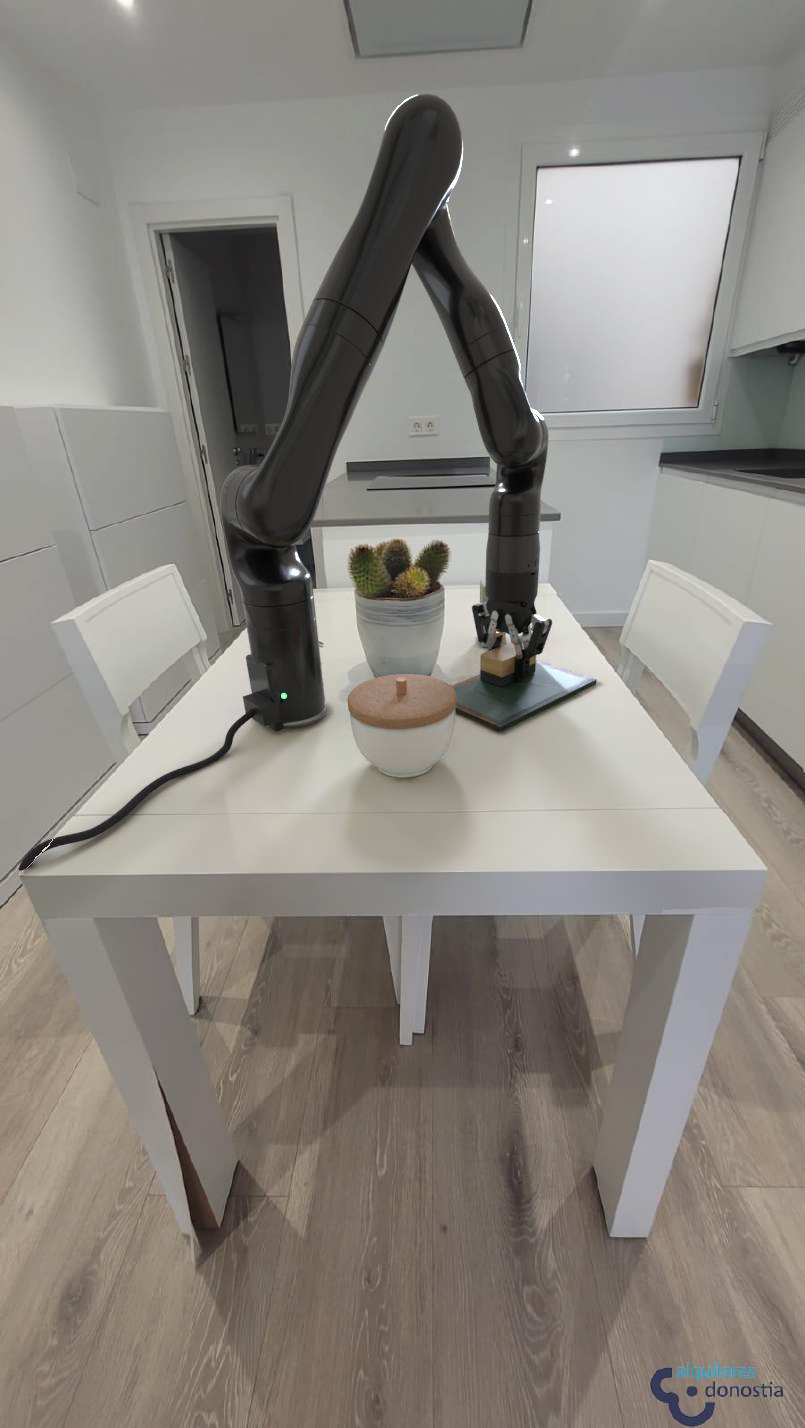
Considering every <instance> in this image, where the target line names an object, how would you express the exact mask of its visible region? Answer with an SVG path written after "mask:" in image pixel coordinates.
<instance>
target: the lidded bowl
mask: <svg viewBox="0 0 805 1428" xmlns="http://www.w3.org/2000/svg"><path fill="white" fill-rule="evenodd" d="M452 686H453V685H451V684H449V683H448V682H446V681H445V680H442V679H440V678H438V677H434V676H430V675H425V674H417V673H397V674H388V675H382V676H378V677H377V676H376V677H375V678H371V679H368V680H365V681H364V682H361V683H360V684H358V685H357V686H355V687H353V688H352V690H351V691H350V692H349V694H348V696H347V700H346V701H347V708H348V712H349V719H350V726H351V731H352V735H353V739H354V741H355V744H356V746H357V748H358V750H359V752H360V753H361V755H362V756H363V757H364V758H365V760H366V761H367V762H369V763H370V764H371V765H373V766H374V767H376V769H377V771H379V772H380V773H381V774H383V775H385V776H388V777H392V778H396V779H409V778H414V777H419V776H422V775H425V774H426V773H428V772H429V771H430V770H431V769H432V768H433V767H434V765H436V763H438V762H439V761H440V760H441V759H442V758H443V757H444V755H445V754H446V753H447V751H448V749H449V746H450V745H451V743H452V739H453V736H454V731H455V726H456V725H455V724H456V712H455V708H456V704H457V695H456V692H455V690H454V689H453V687H452Z"/></svg>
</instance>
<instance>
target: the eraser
mask: <svg viewBox="0 0 805 1428" xmlns="http://www.w3.org/2000/svg"><path fill="white" fill-rule="evenodd" d="M522 645H523V642H522ZM523 649H524V647H523ZM515 658H516V653H515V647H514V644H512V643H511V642H508V643H505V645H503V646H500V647H498V648H495V649H492V650H490V651H488V650H487V651H485V652H482V653H480V660H479V661H480V665H479V668H480V671H479V675H480V679H481V680H484V681H487V682H489V683H492V684H495V685H497V686H500V687H503V686H505V685H508V684H510V683H512V682H514V681H517V680H515V679H514V671H515ZM536 660H537V655H536V656H533V657H531V658H530V665H529V674H528V675H530V674H532V673H535V667H536Z"/></svg>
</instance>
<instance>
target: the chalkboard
mask: <svg viewBox="0 0 805 1428" xmlns="http://www.w3.org/2000/svg"><path fill="white" fill-rule="evenodd" d="M597 681H598V679H597V678H594V677H590V676H587V675H584V674H581V673H577V672H576V671H572V670H569V669H565V668H562V667H559V666H556V665H553V664H550V663H547V662H543V661H541V660H537V659H536V667H535V673H532V674H530V675H528V676H526V678H525V679H523V680H521V681H514V682H512V683H510V684H508V685H505V686H503V687H500V686H497V685H495V684H492V683H489V682H487V681H484V680H481V679H480V674H477V675H476V676H473V677H470V678H468V679H465V680H463V681H460V682H458V683H455V684H452V685H451V686H452V687H453V689H454V690H455V692H456V695H457V704H456V708H455V714H459V715H460V716H463V717H465V718H467V719H469V720H472V721H474V722H476V723H479V724H481V725H483V726H485V727H488V728H489V729H492V730H495V731H496V732H499V733H501V732H503V731H506V730H507V729H509V728H511V727H513V726H515V725H517V724H520V723H521V722H523V721H525V720H527V719H529V718H531V717H534V716H536V715H537V714H539V713H542V712H543V711H545V710H547V709H549V708H551V707H553V706H555V705H557V704H559V703H561V702H564V701H565V700H567V699H569V698H571V697H573V696H575V695H577V694H579V693H582V692H583V691H585V690H587V689H589V688H591V687H593V686H595V685H597Z"/></svg>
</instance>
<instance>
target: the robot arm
mask: <svg viewBox="0 0 805 1428" xmlns="http://www.w3.org/2000/svg"><path fill="white" fill-rule="evenodd" d="M380 141H381V142H380V146H379V150H378V153H377V156H376V160H375V163H374V167H373V169H372V173H371V176H370V179H369V180H368V181H369V182H368V185H367V188H366V191H365V193H364V196H363V199H362V201H361V204H360V205H359V207H358V208H359V209H358V211H357V213H356V215H355V217H354V220H353V221H352V224H351V225H350V226H349V228H348V231H347V233H346V235H345V236H344V237H343V240H342V242H341V244H340V246H339V247H338V249H337V251H336V253H335V254H334V257H333V259H332V261H331V263H330V265H329V267H328V268H327V271H326V272H325V275H324V276H323V280H322V281H321V284H320V286H319V288H318V290H317V291H316V293H315V296H314V298H313V300H312V302H311V304H310V306H309V309H308V311H307V314H306V316H305V318H304V321H303V323H302V325H301V328H300V330H299V332H298V335H297V339H296V342H295V344H294V348H293V353H292V358H291V366H290V378H289V391H288V399H287V405H286V409H285V413H284V416H283V419H282V422H281V424H280V427H279V429H278V431H277V433H276V435H275V437H274V440H273V442H272V443H271V446H270V448H269V449H268V452H267V454H266V455H265V457H264V458H263V460H262V462H261V463H259V464H258V463H257V464H255V463H252V464H251V463H250V464H245V465H242V466H239V467H237V468H236V469H234V470H233V471H231V472H230V473H229V474H228V475H227V477H226V478H225V480H224V481H223V485H222V488H221V491H220V497H219V503H220V504H219V507H220V508H219V509H220V516H221V517H220V518H221V522H222V528H223V534H224V537H225V543H226V549H227V553H228V557H229V563H230V567H231V571H232V574H233V577H234V579H235V581H236V583H237V586H238V588H239V592H240V597H241V601H242V606H243V612H244V613H243V614H244V618H245V619H244V620H245V624H246V625H245V626H246V631H247V638H248V643H249V650H250V653H249V654H246V656H245V662H246V667H247V673H248V680H249V686H250V692H251V693H249V694H246V695H243V696H242V701H243V707H244V712H245V713H244V714H243V715H242V716H240V717H239V718H238V719H237V720H236V721H234V723H233V724H232V725H231V726H230V727H229V729H228V730H227V732H226V734H225V739H224V742H223V745H222V747H220V748H219V749H218V750H217V751H216V752H215V753H213V754H212V755H210V756H208V757H207V758H205V759H203V760H200V761H197V762H195V763H192V764H189V765H185V766H182V767H179V768H176V769H174V770H172V771H169V772H167V773H165V774H163V775H161V776H159V777H158V778H156V779H155V780H153V781H151V782H150V783H149V784H148V785H146V786H145V787H143V788H142V789H141V790H139V792H138V793H136V794H135V795H134V796H133V797H132V798H131V799H130V800H129V801H128V802H127V803H126V804H125V805H123V807H122V808H120V809H119V810H118V811H116V812H115V813H114V814H113V815H112V816H110V817H109V818H106V820H104V821H102V822H101V823H99V824H98V825H96V826H93V827H92V828H89V829H86V830H83V831H80V832H79V831H78V832H74V833H70V834H65V835H60V836H56V837H53V838H50V839H47V840H44V841H42V842H40V843H38V844H37V845H36V846H35V847H33V848H32V849H30V851H28V853H26V855H25V856H24V858H22V861H21V862H20V864H19V867H18V871H21V872H22V871H26V870H27V869H29V868H31V866H33V864H34V863H32V862H33V861H34V859H35V857H36V856H38V855H39V854H40V853H41V852H42V850H43V849H44V848H45V847H47V846H48V845H49V843H50V842H51V841H52V839H53V841H52V842H51V843H50V846H49V847H48V848H47V849H46V850H45V851H44V852H42V854H43V853H46V852H47V851H50V850H52V849H55V848H58V847H61V846H65V845H70V844H76V843H80V842H84V841H87V840H90V839H92V838H95V837H97V836H100V835H101V834H103V833H105V832H106V831H108V830H109V829H111V828H113V827H114V826H116V825H117V824H118V823H120V822H121V821H122V820H124V818H126V817H127V816H128V815H129V814H131V812H132V811H134V810H135V809H136V808H137V807H138V806H139V805H140V804H141V802H144V800H145V799H147V797H149V796H150V795H151V794H152V793H153V792H154V791H156V790H157V789H158V788H160V787H162V786H163V785H165V784H166V783H168V782H170V781H172V780H175V779H177V778H180V777H182V776H185V775H188V774H191V773H194V772H196V771H199V770H202V769H203V768H206V767H209V766H210V765H212V764H215V763H216V762H218V761H219V760H221V759H222V758H223V757H225V755H226V754H227V753H228V752H229V751H230V750H231V748H232V745H233V742H234V737H235V735H236V733H237V732H238V730H239V729H240V728H241V727H242V726H244V725H245V724H246V723H247V722H248V721H250V720H251V719H252V720H254V721H255V722H257V723H258V724H260V725H261V726H263V727H264V728H266V727H269V728H270V729H272V731H275V732H280V731H283V730H291V729H293V730H294V729H300V728H304V727H309V726H312V725H313V724H316V723H318V722H319V721H321V720H322V719H324V717H325V716H326V714H327V712H328V708H327V701H326V695H325V689H324V688H325V687H324V678H323V667H322V660H321V659H322V658H321V650H320V641H319V632H318V622H317V612H316V604H315V594H314V586H313V579H312V575H311V573H310V571H309V570H308V569H307V567H306V566H305V565H304V563H303V562H302V560H301V558H300V555H299V553H298V550H297V546H296V545H297V543H299V542H300V541H301V540H302V539H303V538H304V537H305V536H306V535H307V533H308V532H309V530H310V528H311V526H312V525H313V522H314V520H315V517H316V515H317V512H318V509H319V507H320V506H319V505H320V503H321V500H322V496H323V493H324V490H325V487H326V484H327V481H328V478H329V475H330V472H331V469H332V465H333V463H334V460H335V457H336V454H337V451H338V449H339V446H340V444H341V442H342V439H343V437H344V436H345V433H346V431H347V429H348V427H349V424H350V422H351V420H352V417H353V415H354V413H355V410H356V408H357V406H358V404H359V401H360V399H361V397H362V394H363V392H364V390H365V388H366V387H367V384H368V383H369V380H370V378H371V376H372V374H373V372H374V369H375V367H376V365H377V362H378V360H379V358H380V356H381V353H382V352H383V349H384V346H385V344H386V342H387V339H388V337H389V333H390V330H391V328H392V325H393V322H394V320H395V317H396V315H397V312H398V308H399V306H400V302H401V299H402V296H403V293H404V290H405V286H406V284H407V280H408V277H409V276H408V275H409V273H410V270H411V266H412V267H413V269H414V271H415V273H416V275H417V276H418V278H419V280H420V282H421V284H422V286H423V287H424V289H425V292H426V293H427V295H428V297H429V300H430V301H431V303H432V306H433V309H435V312H436V314H437V316H438V318H439V321H440V323H441V325H442V327H443V330H444V332H445V335H446V337H447V340H448V343H449V344H450V347H451V350H452V352H453V355H454V357H455V360H456V362H457V365H458V368H459V370H460V373H461V375H462V377H463V380H464V382H465V385H466V387H467V389H468V392H469V394H470V396H471V402H472V406H473V410H474V415H475V419H476V423H477V426H478V427H477V428H478V430H479V434H480V437H481V440H482V443H483V445H484V447H485V450H486V452H487V454H488V456H489V457H490V459H491V460H492V461H493V462H494V463H495V464H496V473H495V485H494V488H493V490H492V492H491V494H490V497H489V503H488V532H487V533H488V534H487V541H486V549H485V580H486V585H485V594H486V597H487V598H488V601H487V602H482V603H480V602H479V603H476V604H473V605H472V606H471V610H472V616H473V621H474V627H475V632H476V635H477V641H478V642H479V643H480V644H481V643H482V642H484V643H485V644H486V646H487V647H486V648H487V651H490V650H492V649H495V648H498V647H500V645H502V643H503V639H504V636H505V637H506V635H507V634H508V635H509V639H510V643H512V644H514V647H515V653H516V658H515V671H514V679H515V680H517V681H521V680H523V679H525V678H526V676H528V674H529V665H530V658H531V657H533V656H536V657H537V656H538V655H541V654H543V652H544V648H545V645H546V642H547V640H548V638H549V634H550V632H551V628H552V625H553V620H552V619H551V618H550V617H546V618H543V617H542V616H541V615H539V614H537V609H536V605H535V601H536V598H537V596H538V593H539V591H538V589H539V576H540V560H541V559H540V558H541V557H540V556H541V541H540V540H541V539H540V528H541V527H540V526H541V508H542V507H541V505H542V504H541V503H542V502H541V497H542V487H543V482H544V477H545V472H546V471H545V470H546V465H547V459H548V458H547V457H548V450H549V429H548V424H547V422H546V420H545V417H543V416H542V415H541V413H540V412H538V411H537V410H535V409H533V408H532V407H531V405H530V402H529V400H528V397H527V394H526V391H525V388H524V386H523V383H522V380H521V375H522V366H521V363H520V362H521V361H520V359H519V354H518V352H517V350H516V347H515V344H514V342H513V339H512V336H511V333H510V331H509V328H508V326H507V323H506V320H505V317H504V316H503V313H502V311H501V309H500V307H499V305H498V304H497V301H496V300H495V298H494V297H493V295H492V294H491V293H490V291H489V290H488V288H487V287H486V286H485V284H484V283H483V282H482V281H481V280H480V279H479V278H478V276H477V275H476V274H475V272H474V271H473V270H472V268H471V267H470V266H469V264H468V262H467V261H466V258H465V257H464V255H463V253H462V251H461V249H460V246H459V244H458V241H457V239H456V235H455V232H454V229H453V225H452V220H451V217H450V213H449V206H448V203H449V199H450V197H451V194H452V193H453V190H454V187H455V185H456V184H457V181H458V179H459V176H460V174H461V168H462V164H463V163H462V162H463V157H464V156H463V155H464V142H463V134H462V129H461V125H460V121H459V119H458V117H457V114H456V112H455V111H454V109H453V108H452V107H451V105H450V104H449V102H447V100H445V99H444V98H442V97H440V96H439V95H437V94H432V93H419V94H416V95H413V96H410V97H409V98H407V99H405V100H404V101H403V102H402V103H401V104H400V105H398V106H397V107H396V108H395V110H394V111H393V112H392V114H391V115H390V117H389V119H388V120H387V123H386V125H385V127H384V131H383V133H382V137H381V140H380ZM490 617H491V618H490ZM484 626H485V632H486V633H484V628H483V627H484ZM505 634H506V635H505ZM520 634H521V635H520ZM522 643H523V645H522ZM523 647H524V649H523ZM54 838H55V839H54ZM39 857H40V856H38V857H37V858H36V859H35V861H36V860H37V859H39ZM35 861H34V862H35ZM31 863H32V864H31ZM30 864H31V865H30ZM29 865H30V866H29ZM28 866H29V867H28ZM27 867H28V868H27ZM26 868H27V869H26ZM25 869H26V870H25Z"/></svg>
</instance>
